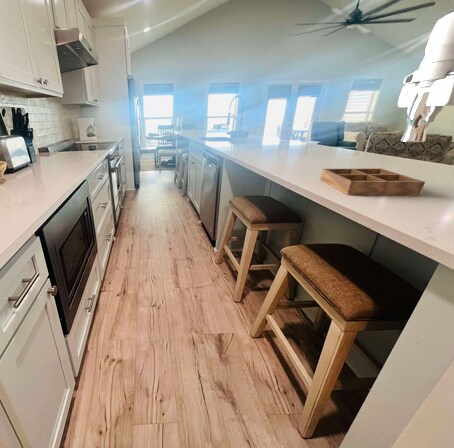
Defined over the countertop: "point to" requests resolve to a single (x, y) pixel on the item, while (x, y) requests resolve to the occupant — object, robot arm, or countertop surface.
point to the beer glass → (417, 119)
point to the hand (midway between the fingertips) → (419, 121)
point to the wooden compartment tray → (371, 182)
